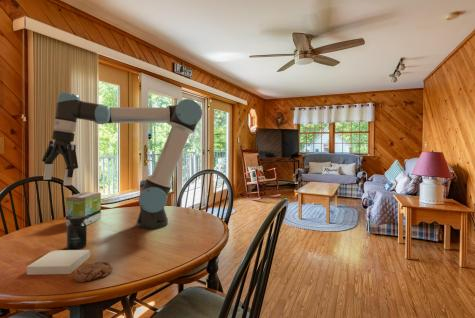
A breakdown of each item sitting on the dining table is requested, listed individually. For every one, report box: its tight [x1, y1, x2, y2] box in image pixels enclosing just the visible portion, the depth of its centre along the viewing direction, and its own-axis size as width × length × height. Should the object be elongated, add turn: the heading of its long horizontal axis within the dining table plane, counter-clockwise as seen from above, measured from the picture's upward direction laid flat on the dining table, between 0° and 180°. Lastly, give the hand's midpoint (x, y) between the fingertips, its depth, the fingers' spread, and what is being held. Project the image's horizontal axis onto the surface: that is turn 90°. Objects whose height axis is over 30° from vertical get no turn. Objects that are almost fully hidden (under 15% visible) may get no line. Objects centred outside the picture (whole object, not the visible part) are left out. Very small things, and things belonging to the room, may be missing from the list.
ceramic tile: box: [26, 249, 91, 276], centre depth 91 cm, size 13×13×2 cm
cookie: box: [73, 261, 113, 283], centre depth 85 cm, size 10×11×3 cm
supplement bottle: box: [66, 216, 88, 250], centre depth 106 cm, size 7×7×12 cm
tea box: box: [65, 191, 102, 227], centre depth 139 cm, size 15×10×15 cm
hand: (56, 182), depth 111 cm, fingers open, 13 cm apart
